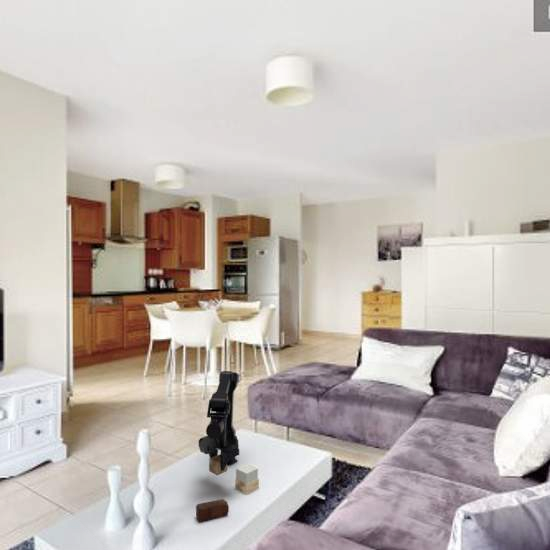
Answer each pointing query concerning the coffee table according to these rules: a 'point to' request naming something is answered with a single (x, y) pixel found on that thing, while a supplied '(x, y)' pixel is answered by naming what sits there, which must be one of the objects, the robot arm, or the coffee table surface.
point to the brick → (211, 510)
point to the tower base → (247, 486)
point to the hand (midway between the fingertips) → (218, 468)
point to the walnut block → (216, 465)
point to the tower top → (246, 473)
